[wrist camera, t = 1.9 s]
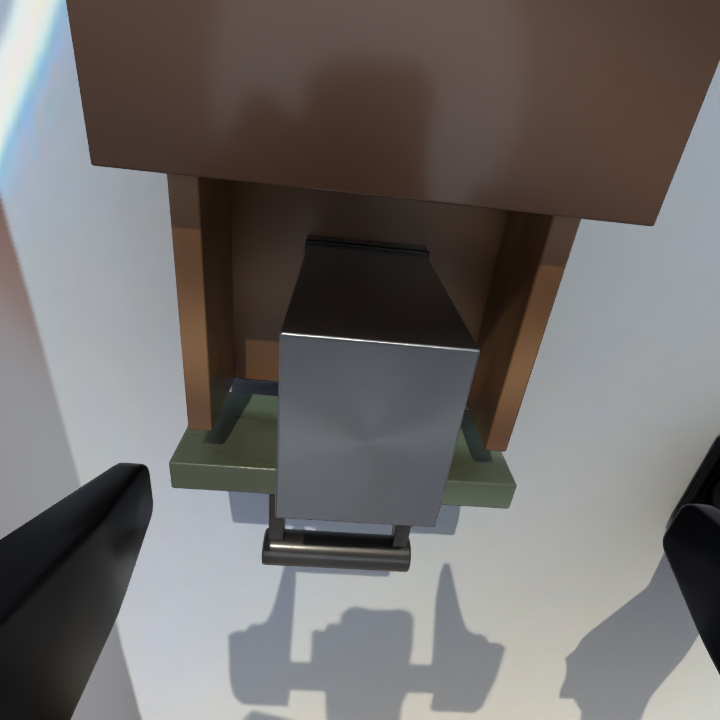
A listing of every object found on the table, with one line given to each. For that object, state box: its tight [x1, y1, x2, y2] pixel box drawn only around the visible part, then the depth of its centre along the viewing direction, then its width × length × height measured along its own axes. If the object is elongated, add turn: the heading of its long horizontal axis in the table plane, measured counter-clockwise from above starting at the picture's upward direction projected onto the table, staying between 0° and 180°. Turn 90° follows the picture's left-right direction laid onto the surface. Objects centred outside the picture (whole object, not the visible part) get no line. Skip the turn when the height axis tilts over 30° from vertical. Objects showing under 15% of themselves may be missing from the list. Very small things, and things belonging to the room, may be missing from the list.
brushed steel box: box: [275, 234, 480, 527], centre depth 14 cm, size 5×4×8 cm
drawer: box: [167, 174, 581, 572], centre depth 16 cm, size 19×12×5 cm, turn 174°
